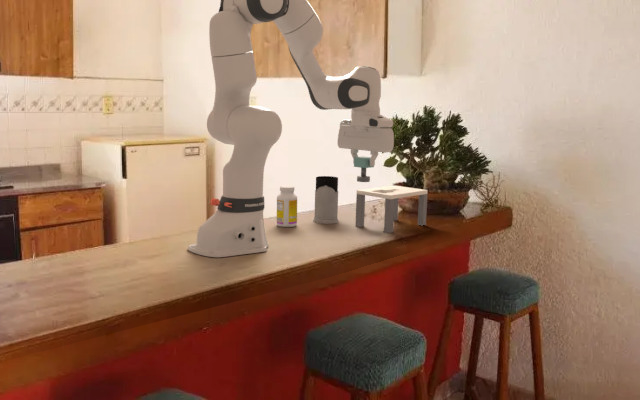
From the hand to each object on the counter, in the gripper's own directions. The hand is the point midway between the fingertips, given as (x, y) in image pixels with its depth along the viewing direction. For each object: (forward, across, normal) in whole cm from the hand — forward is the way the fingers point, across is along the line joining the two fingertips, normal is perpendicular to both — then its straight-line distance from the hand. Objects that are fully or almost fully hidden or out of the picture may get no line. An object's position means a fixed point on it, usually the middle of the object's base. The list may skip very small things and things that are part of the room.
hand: (363, 164), depth 206 cm
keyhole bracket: (+21, 0, +15) cm, 26 cm away
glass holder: (+22, -21, +6) cm, 31 cm away
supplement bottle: (+21, -22, -12) cm, 33 cm away
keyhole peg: (+5, 0, 0) cm, 5 cm away
